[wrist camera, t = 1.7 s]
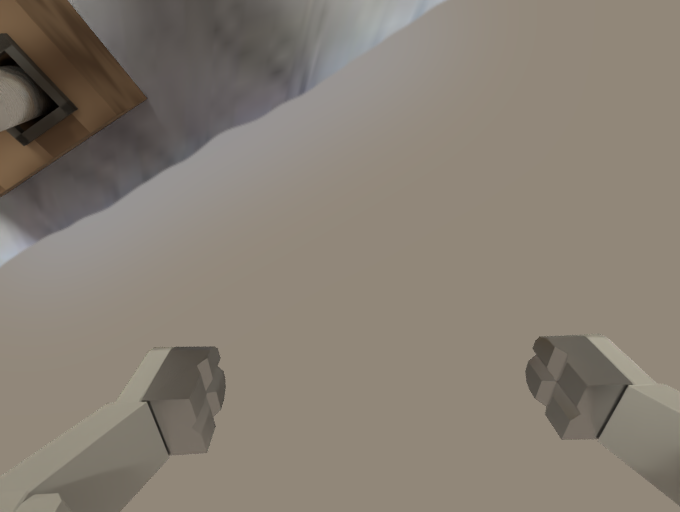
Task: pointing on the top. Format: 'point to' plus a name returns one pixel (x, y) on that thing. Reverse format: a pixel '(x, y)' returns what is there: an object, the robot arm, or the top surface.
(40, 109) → the steel peg
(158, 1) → the top surface
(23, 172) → the walnut block
